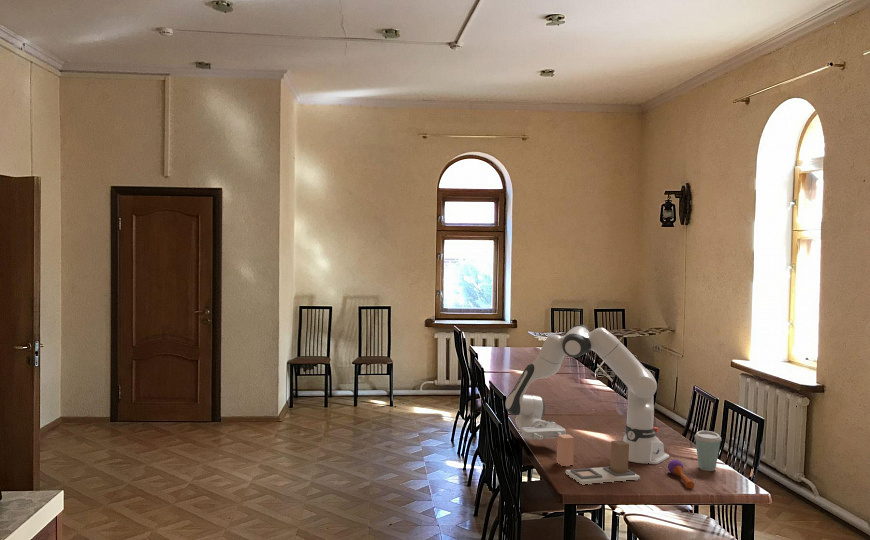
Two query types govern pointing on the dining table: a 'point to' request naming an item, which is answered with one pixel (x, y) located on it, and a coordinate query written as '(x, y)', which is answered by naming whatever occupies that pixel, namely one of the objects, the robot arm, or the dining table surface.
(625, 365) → the robot arm
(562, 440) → the terracotta pillar
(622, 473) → the board
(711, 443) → the disposable coffee cup
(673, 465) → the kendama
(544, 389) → the dining table surface
